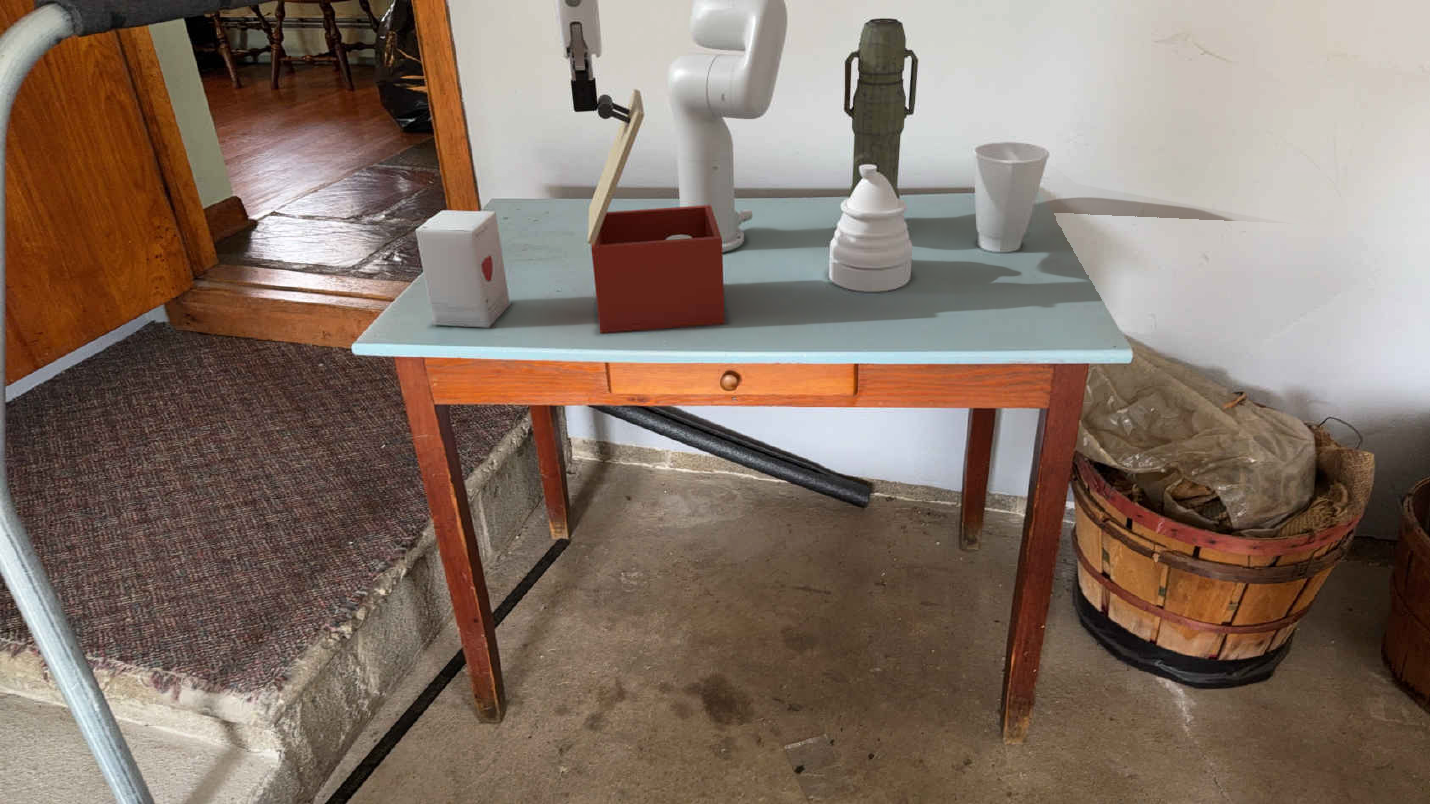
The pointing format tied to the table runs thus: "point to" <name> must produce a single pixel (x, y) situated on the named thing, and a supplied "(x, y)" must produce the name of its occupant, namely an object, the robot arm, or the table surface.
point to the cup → (1006, 192)
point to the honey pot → (871, 238)
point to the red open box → (658, 269)
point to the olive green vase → (879, 98)
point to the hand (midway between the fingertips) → (586, 109)
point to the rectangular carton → (463, 268)
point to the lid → (614, 156)
